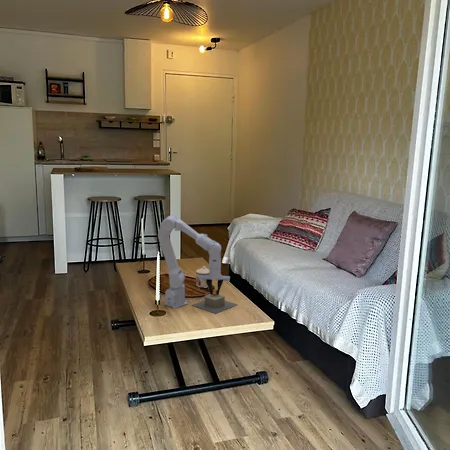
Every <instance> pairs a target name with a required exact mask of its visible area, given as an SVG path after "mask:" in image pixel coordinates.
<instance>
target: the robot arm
mask: <svg viewBox="0 0 450 450" xmlns="http://www.w3.org/2000/svg"><path fill="white" fill-rule="evenodd" d="M159 225H160V226H159V230H158V233H157V237H158V242H159V244H160V247H161V250H162V253H163V257H164V261H165V262H166V266H167V269H168V278H169V280H168V281H169V285H170V286H169V288H168V289H166V290H165V292H164V299H165V300H164V303H163V305H165V306H168V307H170V308H173V309H177V308H179V307H182V306H185V305H188V304H189V302H188V301H186V299H185V298H186V297H185V295H186V293H185V292H186V291H185V289H186V287H185V284H184V282H185V280H186V275H185V273H184V272H183V271H182V269H181V267H180V266H179V264H178V260H177V256H176V254H175V251H174V248H173V245H172V242H171V239H170V235H171V233H172V232H173V230H174V231H176V232H177V231H179V232H182V233H185V234H186V235H188V236H189V237H191V238H192V239H193V240H195V244H197V245H198V246H200V247H201V248H202V249H203V250H204V251H206V252H208V256H209V258H208V269H209V275H200V280H206V283H207V285H208V287H209V288H208V290H209V294H210V295H212V290H213V281H217V283H216V284H217V285H216V286H217V290H218V291H217V295H219V294H220V291H221V290H220V289H221V287H222V285H223V283H224V282H225V281H227V282H230V281H231V280H230V279H231V276H229V275H228V276H227V275H222V274H221V272H222V271H221V270H222V269H221V268H222V258H221V256H222V255H221V251H222V245H221V244H220V243H219V242H217V241H216V240H214V239H211V238H210V237H208V234H207V233H205V234H204V233H199V232H197V231H196V230H195V229H193V227H191V226H189V225H188V224H187V223H185V222H184V221H183V220H182V219H181V218H178V217H177V216H176V215H173V214H171V215H168V216H167V217H166V218H164V219H163V220H162V222H161V223H160V224H159Z"/></svg>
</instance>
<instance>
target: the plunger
mask: <svg viewBox="0 0 450 450" xmlns="http://www.w3.org/2000/svg"><path fill="white" fill-rule="evenodd" d="M217 291H218V289H212V295H213V296H214V297H215V296H216V295H217Z"/></svg>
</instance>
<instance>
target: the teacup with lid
mask: <svg viewBox="0 0 450 450" xmlns="http://www.w3.org/2000/svg"><path fill="white" fill-rule="evenodd" d="M195 275H196V276H195V279H196V280H195V285H196V286H198V287H204V288H207V287H208V285H207V283H206V280H200V275H209V268H207V266H202V267H201V268H198V269H197V270H195ZM196 286H195V287H196Z"/></svg>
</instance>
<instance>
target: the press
mask: <svg viewBox="0 0 450 450" xmlns="http://www.w3.org/2000/svg"><path fill="white" fill-rule="evenodd" d="M225 296H226V295H224V294H220V293H219V295H216V296H215V297H214V296H213V295H210V293H209V294H206V295H204V300H202V301H198V302H197V303H194V304H191V306H192V307H195V308H197V309H200V310H203V311H206V312H209V313H212V314H215V315H216V314H219V313H222V312H223V311H226V310H229V309H232V308H233V307H236V306H238V304H237V303H234V302H231V301H228V300H225V299H226V297H225Z"/></svg>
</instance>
